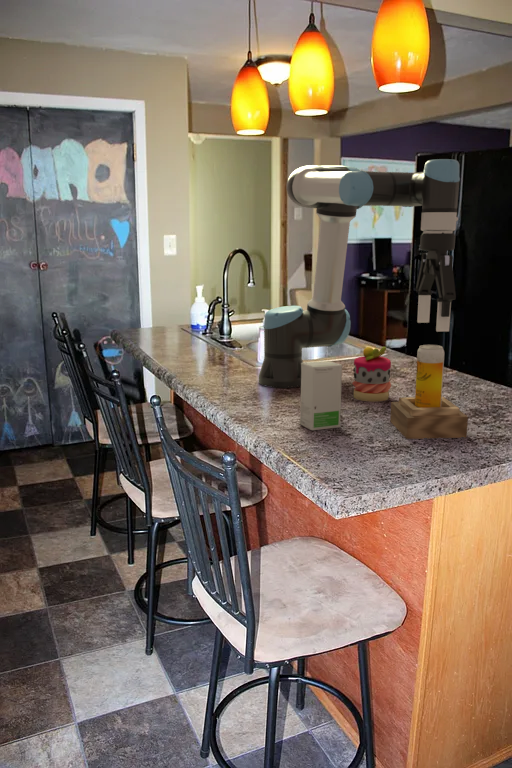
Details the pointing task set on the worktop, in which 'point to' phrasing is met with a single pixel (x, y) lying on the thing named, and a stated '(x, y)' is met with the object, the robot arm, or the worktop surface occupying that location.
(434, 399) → the beer can
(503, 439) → the worktop surface
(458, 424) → the stand
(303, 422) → the skincare box
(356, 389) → the cake
